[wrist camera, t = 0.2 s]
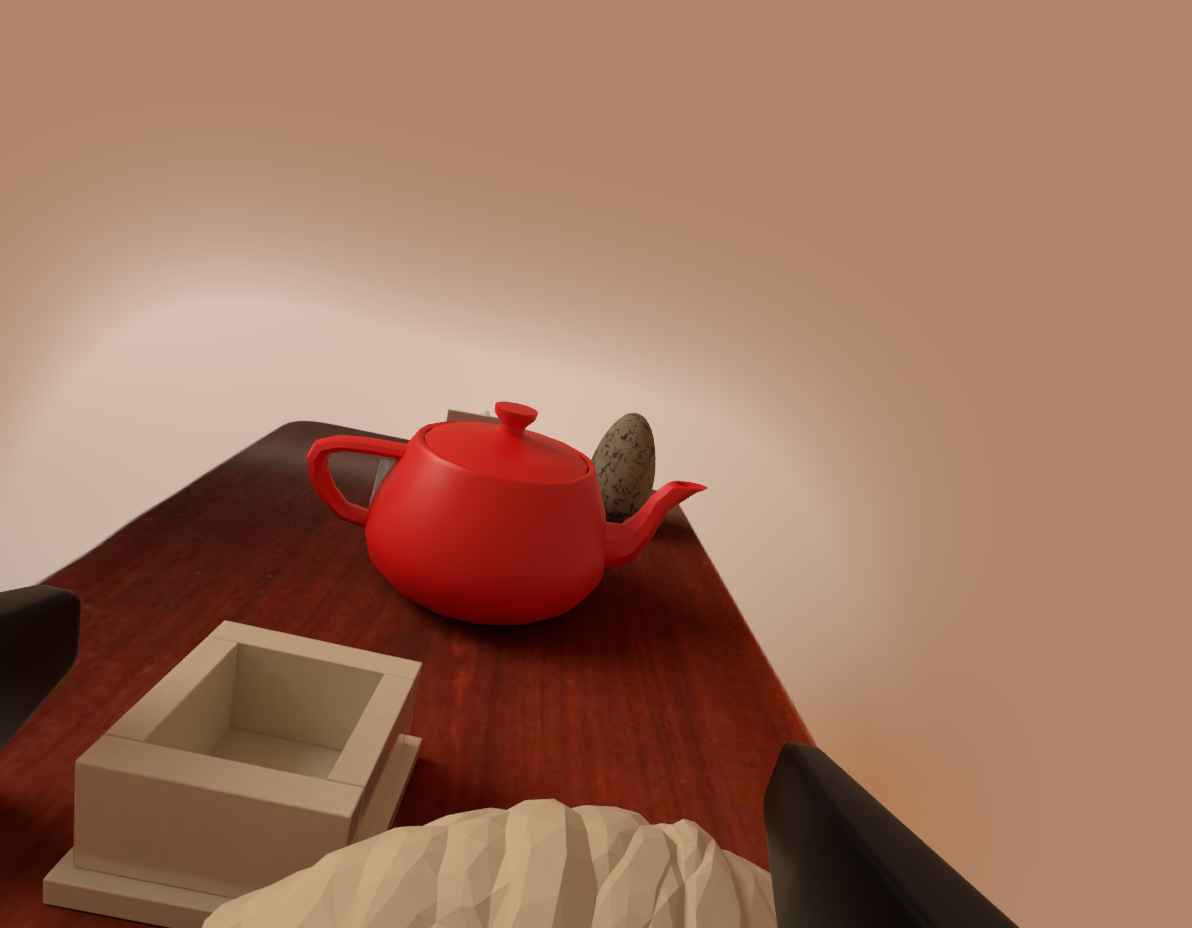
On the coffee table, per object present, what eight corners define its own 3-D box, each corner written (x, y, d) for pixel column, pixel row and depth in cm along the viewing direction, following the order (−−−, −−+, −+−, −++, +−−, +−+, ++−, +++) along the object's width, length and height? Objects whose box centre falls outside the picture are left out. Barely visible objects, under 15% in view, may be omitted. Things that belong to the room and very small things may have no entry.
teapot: (252, 621, 36) (276, 397, 32) (325, 508, 50) (346, 346, 47) (700, 679, 40) (762, 490, 37) (648, 561, 55) (689, 417, 52)
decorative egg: (589, 530, 58) (618, 419, 55) (569, 502, 63) (594, 399, 61) (651, 535, 60) (681, 428, 58) (627, 508, 66) (653, 409, 63)
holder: (340, 962, 21) (362, 834, 19) (42, 904, 20) (41, 769, 19) (418, 756, 29) (438, 657, 28) (210, 712, 29) (219, 610, 28)
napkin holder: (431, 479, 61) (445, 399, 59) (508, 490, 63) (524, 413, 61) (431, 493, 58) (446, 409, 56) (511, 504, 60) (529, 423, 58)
